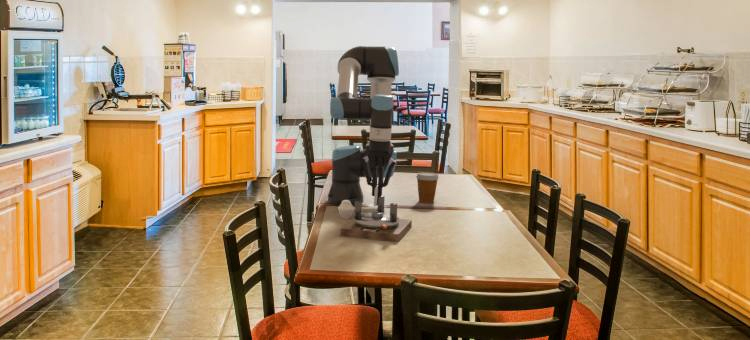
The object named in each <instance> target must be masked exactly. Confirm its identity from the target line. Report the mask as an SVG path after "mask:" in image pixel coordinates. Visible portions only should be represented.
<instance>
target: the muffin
mask: <svg viewBox="0 0 750 340" xmlns="http://www.w3.org/2000/svg"><path fill="white" fill-rule="evenodd" d="M337 210H338V213H339V215H340V217H341V218H342V219H344V220H345V219H347V220H348V219H351V217H352V215H353V214H354V212H355V206H354V205H352V204H351V202H350V201H349V200H343V201H342V203H341V205H339V206H338V207H337Z"/></svg>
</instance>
